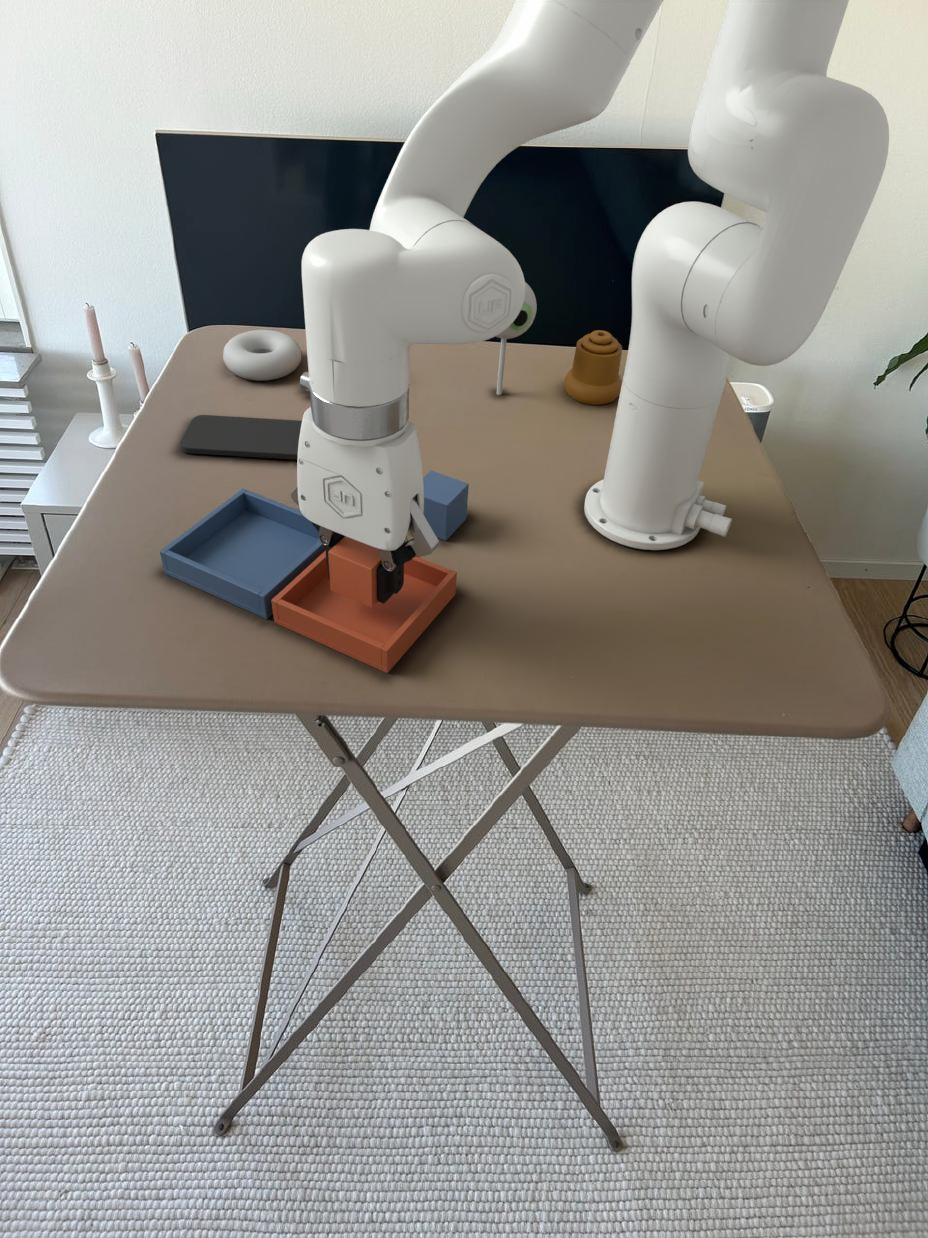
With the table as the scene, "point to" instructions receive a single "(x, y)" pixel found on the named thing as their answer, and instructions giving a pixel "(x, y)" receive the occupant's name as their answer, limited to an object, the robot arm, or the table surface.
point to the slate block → (444, 503)
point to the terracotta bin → (365, 612)
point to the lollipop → (516, 329)
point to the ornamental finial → (595, 369)
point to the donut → (262, 355)
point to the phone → (242, 437)
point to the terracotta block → (354, 570)
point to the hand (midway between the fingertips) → (365, 582)
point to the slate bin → (244, 551)
